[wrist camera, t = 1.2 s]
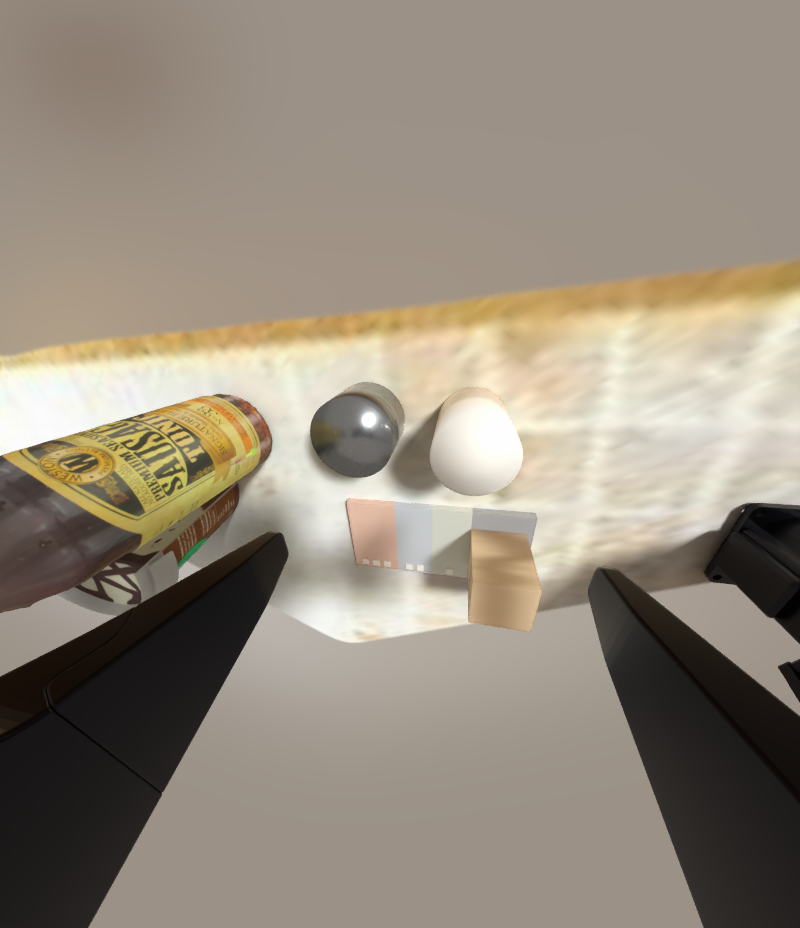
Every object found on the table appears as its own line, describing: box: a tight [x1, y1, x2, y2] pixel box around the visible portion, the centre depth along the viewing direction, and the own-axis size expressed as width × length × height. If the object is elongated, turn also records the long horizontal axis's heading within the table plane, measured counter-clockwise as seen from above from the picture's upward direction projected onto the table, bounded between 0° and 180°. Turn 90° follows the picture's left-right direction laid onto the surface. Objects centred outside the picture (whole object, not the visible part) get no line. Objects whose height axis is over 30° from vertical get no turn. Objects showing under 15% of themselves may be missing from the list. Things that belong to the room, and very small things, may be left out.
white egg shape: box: [430, 387, 523, 496], centre depth 16 cm, size 4×4×6 cm
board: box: [346, 498, 537, 578], centre depth 24 cm, size 14×7×1 cm, turn 93°
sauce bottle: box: [0, 394, 272, 613], centre depth 14 cm, size 6×6×20 cm
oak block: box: [468, 529, 542, 632], centre depth 20 cm, size 4×4×5 cm
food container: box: [57, 483, 239, 616], centre depth 23 cm, size 12×6×10 cm, turn 87°
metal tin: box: [310, 382, 405, 477], centre depth 18 cm, size 5×5×4 cm
